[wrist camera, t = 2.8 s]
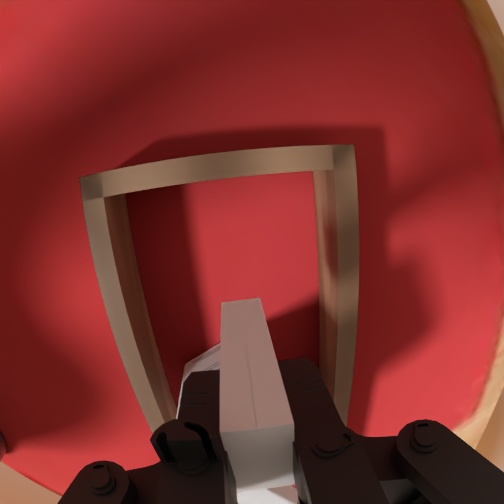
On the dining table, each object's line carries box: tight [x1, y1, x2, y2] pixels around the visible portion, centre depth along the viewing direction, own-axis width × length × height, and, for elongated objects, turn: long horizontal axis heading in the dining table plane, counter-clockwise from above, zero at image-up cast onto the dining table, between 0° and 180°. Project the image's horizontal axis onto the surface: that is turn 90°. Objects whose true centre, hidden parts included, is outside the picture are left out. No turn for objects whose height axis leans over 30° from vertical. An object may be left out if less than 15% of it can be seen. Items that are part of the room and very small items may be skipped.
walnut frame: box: [79, 145, 359, 433], centre depth 18 cm, size 13×27×4 cm, turn 6°
